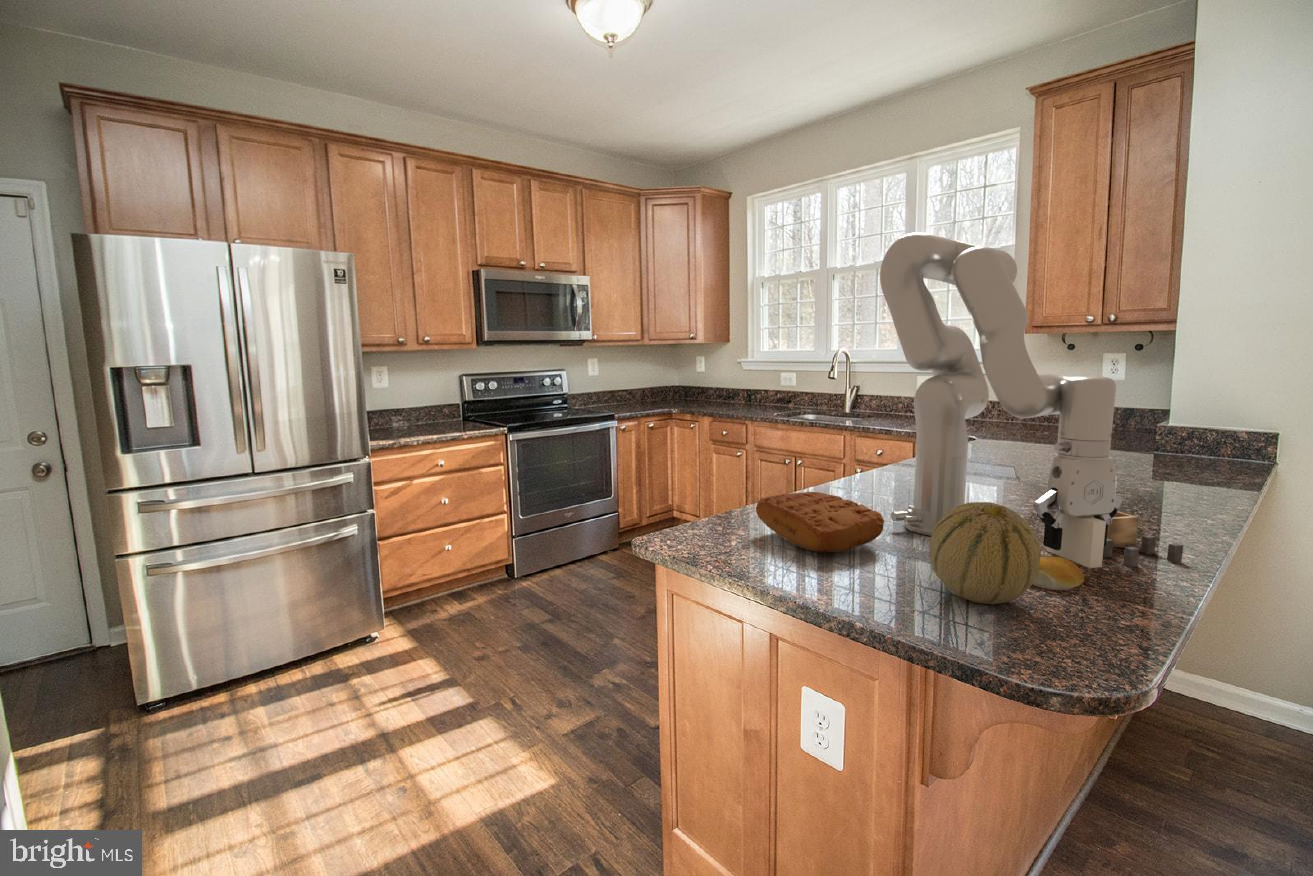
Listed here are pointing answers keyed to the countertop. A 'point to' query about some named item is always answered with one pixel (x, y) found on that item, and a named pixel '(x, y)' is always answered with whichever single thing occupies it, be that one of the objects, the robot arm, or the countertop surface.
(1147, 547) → the open wooden box
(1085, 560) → the white block
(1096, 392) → the robot arm
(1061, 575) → the bread roll
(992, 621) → the countertop surface
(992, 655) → the countertop surface
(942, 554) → the cantaloupe
